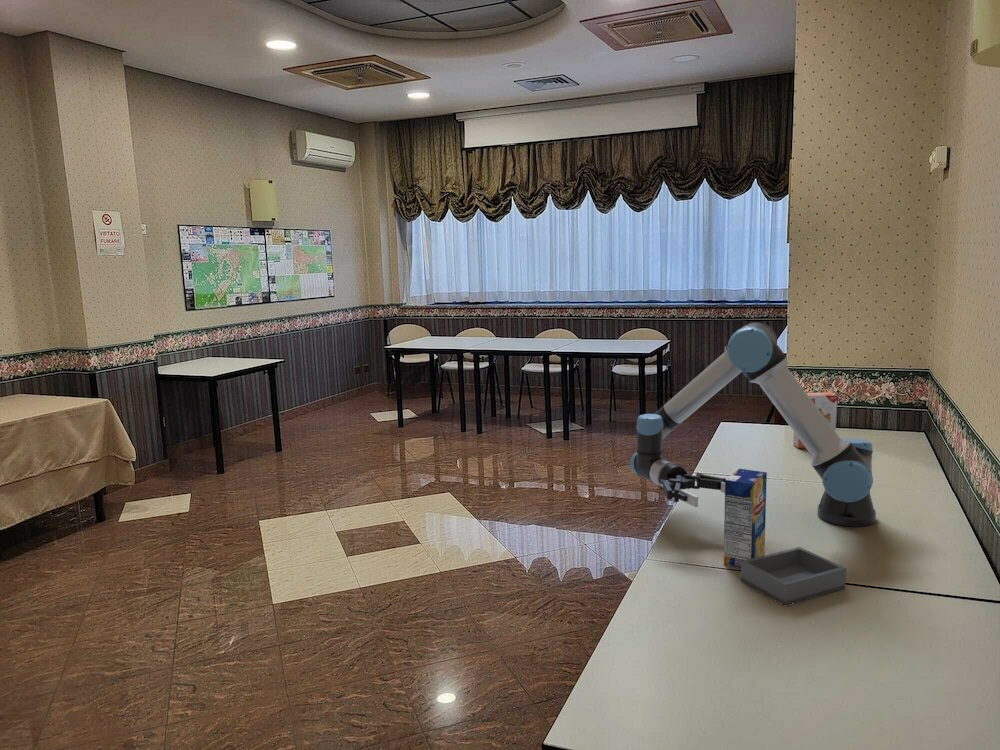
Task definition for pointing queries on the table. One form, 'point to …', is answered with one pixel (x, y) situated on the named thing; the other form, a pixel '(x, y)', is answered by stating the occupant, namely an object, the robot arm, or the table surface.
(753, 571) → the tray
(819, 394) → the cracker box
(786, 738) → the table surface
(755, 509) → the beverage box
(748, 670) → the table surface
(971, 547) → the table surface
